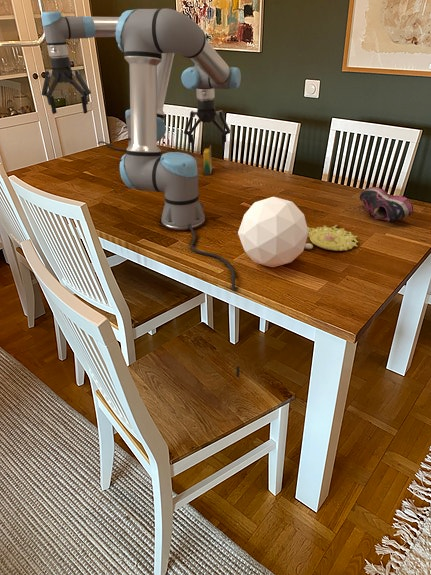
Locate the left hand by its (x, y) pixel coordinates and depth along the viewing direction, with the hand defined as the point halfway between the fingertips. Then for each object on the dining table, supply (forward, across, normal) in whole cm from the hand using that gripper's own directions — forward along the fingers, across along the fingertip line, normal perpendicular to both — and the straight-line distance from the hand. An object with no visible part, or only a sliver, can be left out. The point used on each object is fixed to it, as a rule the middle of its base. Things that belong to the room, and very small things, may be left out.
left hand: (70, 113), depth 188 cm
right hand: (+17, +58, +6) cm, 61 cm away
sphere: (+27, +84, -78) cm, 118 cm away
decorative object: (+27, +103, -62) cm, 123 cm away
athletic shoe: (+27, +122, -44) cm, 133 cm away
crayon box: (+27, +58, +5) cm, 64 cm away
